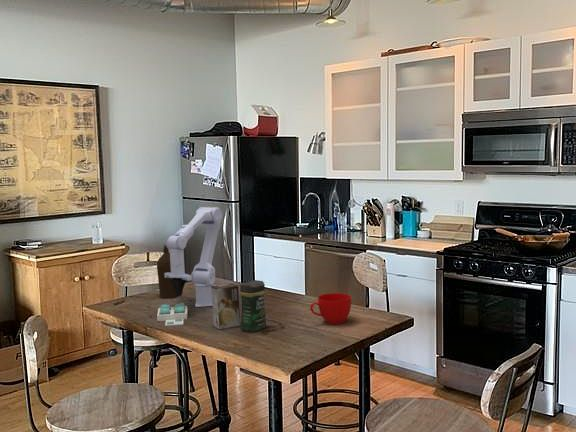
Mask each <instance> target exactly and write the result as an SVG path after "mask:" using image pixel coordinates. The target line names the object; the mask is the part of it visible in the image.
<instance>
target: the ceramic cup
mask: <svg viewBox="0 0 576 432" xmlns="http://www.w3.org/2000/svg"><path fill="white" fill-rule="evenodd" d="M314 305H315V306H316V305H317V306H318V310H319V312H320V313H317V312H315V311H314V309H313V307H314ZM351 307H352V296H351V295H350V294H346V293H341V292H338V293H337V292H334V293H333V292H331V293H324V294H320V295H318V296H317V302H312V303H311V304H310V307H309V308H310V309H309V310H310V311H311V312H312V314H314V315H315V316H319V317H322V318H323V320H324V321H325V322H326V323H327V324H330V325H340V324H343V323H344V322H345V321H346V319H347V318H348V317H349V315H350V312H351Z"/></svg>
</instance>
